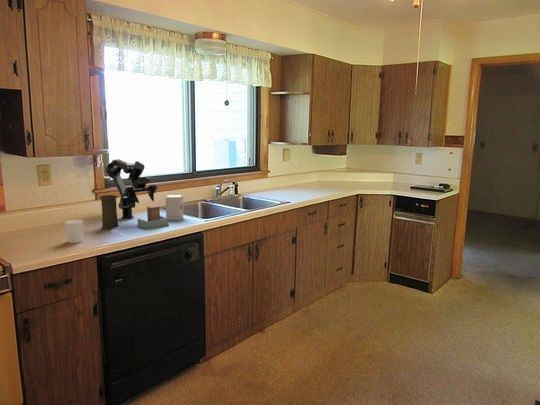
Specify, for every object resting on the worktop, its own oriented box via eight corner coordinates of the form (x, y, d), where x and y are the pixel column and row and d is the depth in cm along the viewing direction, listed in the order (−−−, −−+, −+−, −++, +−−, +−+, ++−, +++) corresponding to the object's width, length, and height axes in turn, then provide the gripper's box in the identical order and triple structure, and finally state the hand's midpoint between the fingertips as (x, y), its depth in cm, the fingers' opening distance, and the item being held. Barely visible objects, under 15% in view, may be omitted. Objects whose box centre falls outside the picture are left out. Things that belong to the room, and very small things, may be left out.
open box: (137, 227, 229) (137, 218, 229) (159, 223, 239) (159, 215, 238) (146, 230, 222) (146, 221, 221) (168, 226, 232) (168, 218, 231)
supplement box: (180, 221, 244) (180, 197, 242) (165, 221, 244) (165, 197, 242) (183, 218, 253) (183, 194, 251) (169, 218, 253) (168, 194, 251)
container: (104, 230, 221) (102, 198, 218) (99, 227, 228) (97, 195, 225) (121, 228, 227) (119, 196, 224) (115, 225, 234) (114, 194, 231)
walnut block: (147, 225, 230) (147, 206, 228) (155, 224, 233) (155, 205, 231) (152, 227, 226) (151, 208, 224) (160, 225, 230) (159, 206, 228)
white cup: (64, 241, 200) (62, 221, 198) (81, 238, 206) (79, 219, 204) (70, 244, 195) (68, 224, 193) (87, 241, 200) (85, 221, 198)
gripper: (124, 173, 227) (134, 195, 222) (155, 171, 240) (165, 191, 234) (119, 185, 234) (129, 207, 229) (149, 182, 247) (159, 203, 241)
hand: (146, 201), depth 233 cm, fingers open, 9 cm apart
